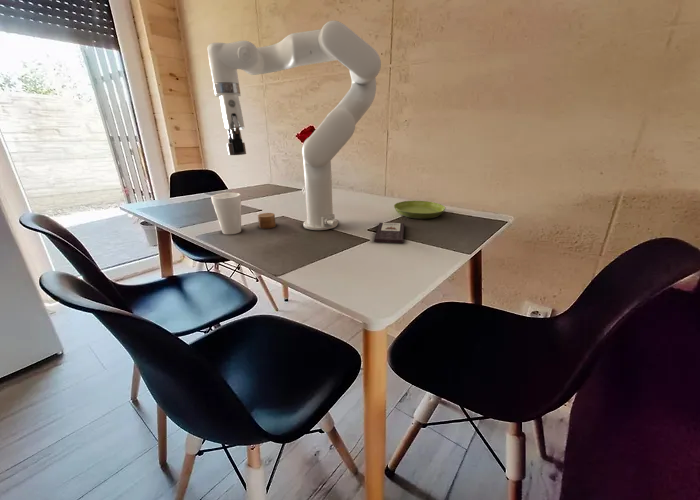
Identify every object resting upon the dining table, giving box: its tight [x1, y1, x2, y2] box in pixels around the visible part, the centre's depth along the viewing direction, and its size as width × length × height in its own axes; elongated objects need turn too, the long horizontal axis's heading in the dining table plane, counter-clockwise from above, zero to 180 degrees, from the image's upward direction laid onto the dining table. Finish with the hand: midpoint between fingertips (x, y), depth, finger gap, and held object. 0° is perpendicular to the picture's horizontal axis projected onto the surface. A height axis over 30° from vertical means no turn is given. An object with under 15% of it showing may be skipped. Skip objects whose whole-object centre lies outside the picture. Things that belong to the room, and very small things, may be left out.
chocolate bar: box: [373, 222, 405, 244], centre depth 106 cm, size 9×1×18 cm
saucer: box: [393, 200, 446, 220], centre depth 128 cm, size 21×21×3 cm
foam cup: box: [210, 192, 242, 235], centre depth 109 cm, size 10×9×13 cm
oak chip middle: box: [257, 212, 276, 223], centre depth 115 cm, size 6×6×2 cm
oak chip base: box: [258, 220, 277, 230], centre depth 116 cm, size 6×6×2 cm
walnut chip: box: [226, 141, 247, 156], centre depth 103 cm, size 6×6×4 cm
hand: (237, 151), depth 103 cm, fingers closed on walnut chip, 5 cm apart
